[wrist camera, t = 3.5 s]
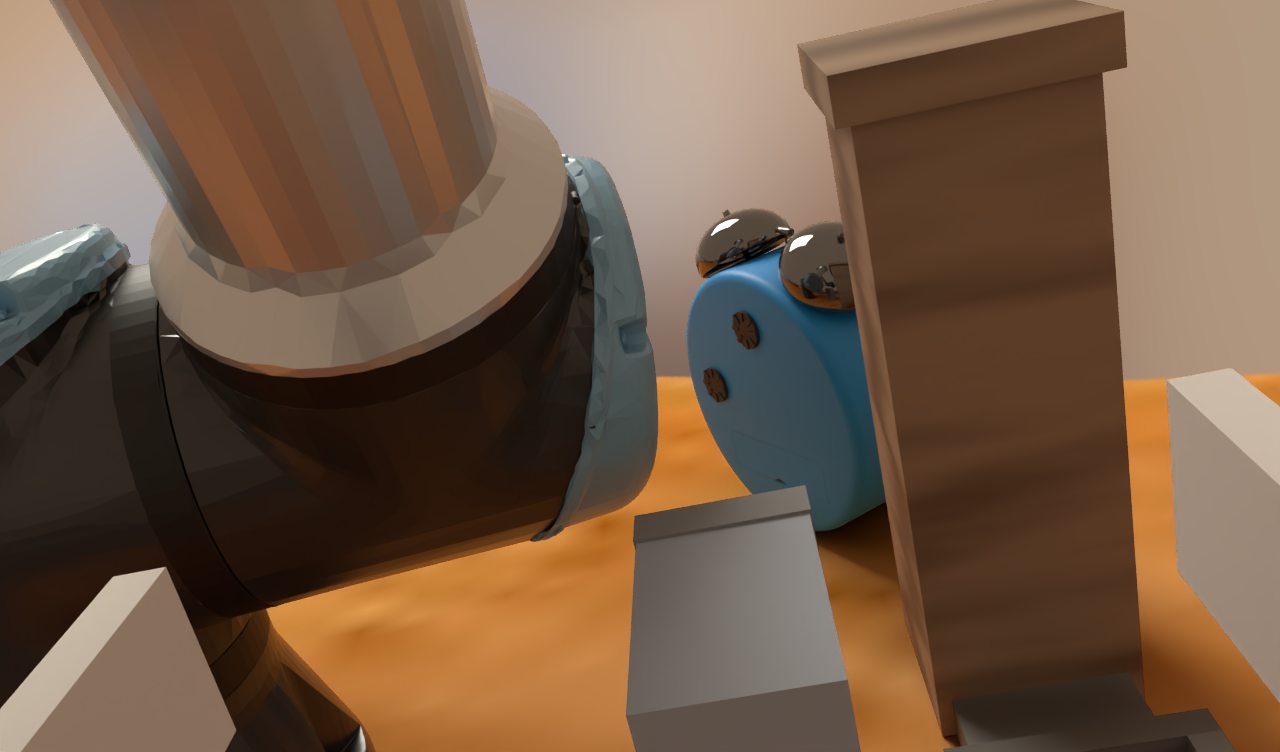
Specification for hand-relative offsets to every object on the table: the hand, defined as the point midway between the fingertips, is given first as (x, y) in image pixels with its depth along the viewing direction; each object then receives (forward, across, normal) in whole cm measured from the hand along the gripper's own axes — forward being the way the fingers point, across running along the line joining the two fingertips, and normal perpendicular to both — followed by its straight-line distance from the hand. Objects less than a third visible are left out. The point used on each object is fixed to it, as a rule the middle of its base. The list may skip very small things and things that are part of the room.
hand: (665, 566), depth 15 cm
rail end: (+10, 0, -21) cm, 23 cm away
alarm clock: (+38, +4, -21) cm, 43 cm away
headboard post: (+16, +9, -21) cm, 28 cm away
